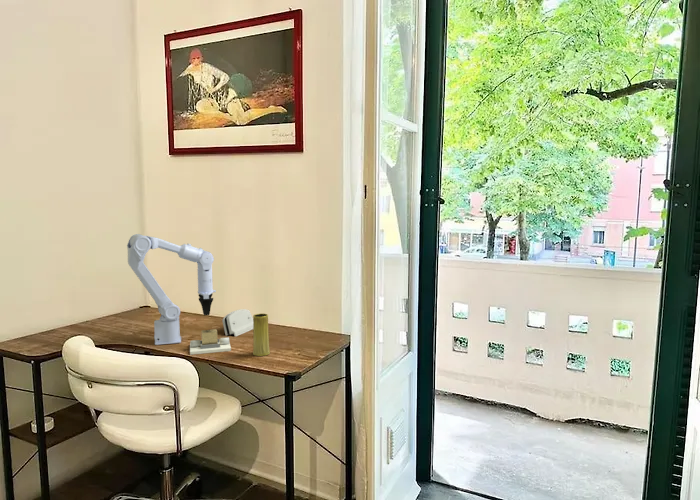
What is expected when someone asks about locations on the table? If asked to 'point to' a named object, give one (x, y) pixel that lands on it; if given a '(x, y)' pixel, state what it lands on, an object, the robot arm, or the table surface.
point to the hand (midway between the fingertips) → (206, 313)
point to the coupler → (209, 337)
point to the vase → (260, 335)
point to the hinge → (238, 322)
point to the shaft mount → (209, 346)
